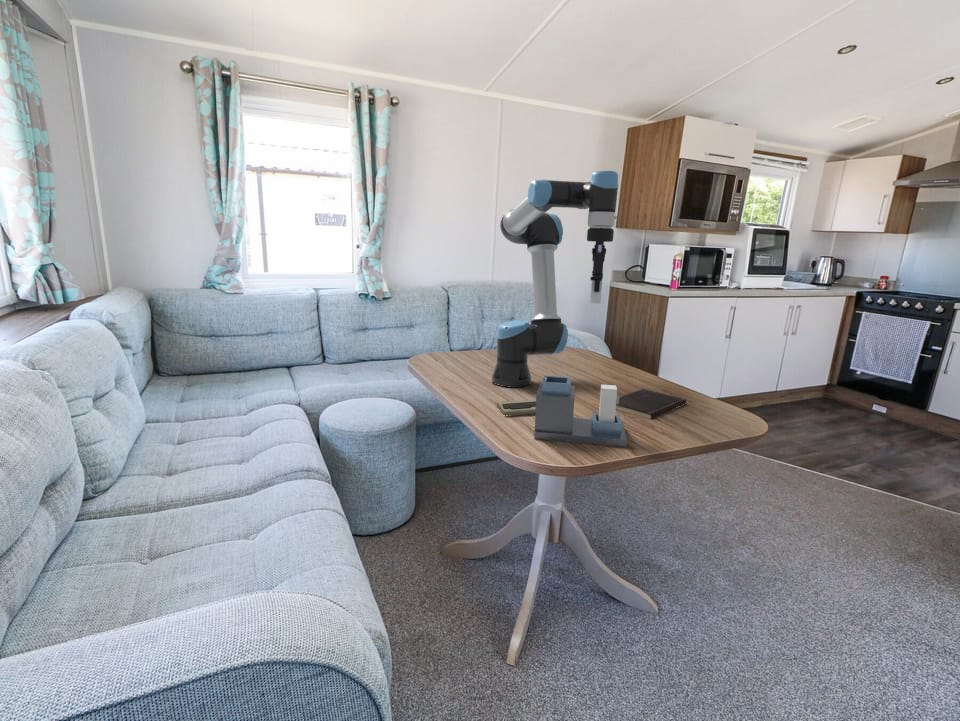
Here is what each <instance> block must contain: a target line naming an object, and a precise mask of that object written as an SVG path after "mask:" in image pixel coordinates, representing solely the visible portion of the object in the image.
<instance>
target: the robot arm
mask: <svg viewBox="0 0 960 721" xmlns="http://www.w3.org/2000/svg"><path fill="white" fill-rule="evenodd" d="M618 189H619V174H618V172H616V171H612V170H596V171H593V172H592V174H591V178H590V181H585V182H584V181H566V180H554V179H553V180H552V179H551V180H550V179H549V180H548V179H544V178H543V179H534V180H532V181H531V182H530V184H529V187H528V189H527V197H526V198H524V199H523V200H522V201H521V202H520V203H519V204H518V205H517V206H516V207H514V208H513V209H510V210H507V211H506V212H505V214H504V215H503V216H502V217H501V220H500V225H499V227H500V231H501V234H502V235H503V237H504V238H505V239H506V240H507V241H509V242H511V243H513V244H516V245H517V244H518V245H526V250H527V252H529V253H530V254H531V270H532V271H531V272H532V274H531V275H532V290H533V293H532V294H533V312H534V316H533V317H532V318H531V319H530V323H529V321H528V320H522V319H521V320H511V321H506V322H502V323H501V324H499V326H498V328H497V332H496V334H497V335H496V338H497V340H496V363H495V366H494V370H493V371H492V374H491V382H492V381H493V382H494V383H496V384H499V385H503V386H510V387H509V388H522V387H521V386H524V387H527V386H526V385H528V386H530V385H531V384H532V375H531V372H530V367H529V365H528V356H540V355H548V356H549V355H550V356H551V355H554V354H555V355H557V354H560V353H562V352H563V351H564V350H565V348H566V346H567V343H568V339H569V331H568V328H567V325H566V324H565V323H563V322H562V318H561V316H560V315H558V310H557V308H558V307H557V306H558V305H557V290H556V288H557V287H556V271H555V270H556V266H555V252H556V250H558V246H559V245H560V244H561V243H562V241H563V236H564V227H563V224H562V221H561V218H560V217H559V216H558V215H557V214H554V213H548V211H549V210H550V209H552V208H570V209H579V210H582V209H583V210H587V209H588V216H587V226H588V229H587V233H586V235H587V236H586V241H587V242H595V244H594V246H593V247H592V249H591V255H592V257H591V258H592V259H591V260H592V262H593V263H592V264H593V265H592V272H591V276H590V281H591V285H590V304H601V300H602V298H601V297H602V287H603V286H602V285H603V277H604V271H603V270H604V262H605V260H606V254H607V248H606V245H605V242H606V243H612V242H613V241H614V234H615V233H614V232H615V230H614V228H612V227H615V220H617V219H618V216H617V215H616V210H617V209H616V208H617V199H618ZM529 384H530V385H529ZM503 386H502V387H503Z"/></svg>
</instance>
